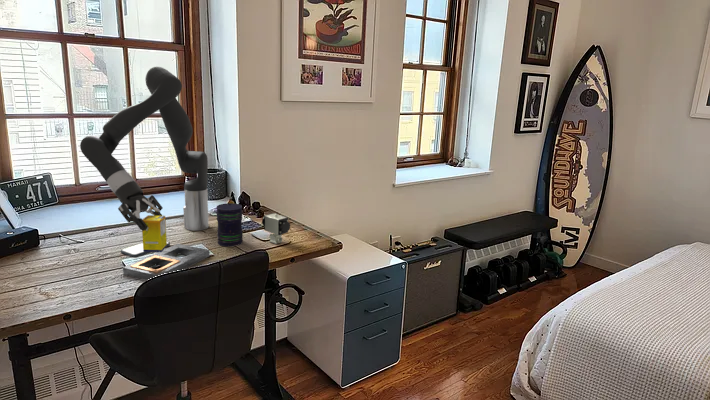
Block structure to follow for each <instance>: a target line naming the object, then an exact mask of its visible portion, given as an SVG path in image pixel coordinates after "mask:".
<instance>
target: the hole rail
mask: <svg viewBox="0 0 710 400" xmlns="http://www.w3.org/2000/svg"><path fill="white" fill-rule="evenodd" d="M182 254H183V255H185V256H184V257H182V258H181V257H176V256H178V255H182ZM183 255H182V256H183ZM209 257H210V249H205V248H202V247H196V246H192V245H187V244H186V245H185V244H181V243H176V244H173V245H170V246H169V247H166V248H165V249H164V250H163V251H162V252H154V253H153V254H150V255H148V256H146V257H144V258H142V259H140V260H136V261H135V262H132V263H130V264H128V265H126V266H123V267H122V273H123V275H124V276H127V277H132V278H135V279H140V280H145V281H148V279H150V278H153V277H155V276H158V275H161V274H164V273H169V272H173V271H177V270H182V269H184V270H186V269H188V268H190V267H192V266H193V265H196V264H198V263H199V262H201V261H203V260H205V259H208V258H209ZM154 266H159V267H160V268H157V269H155V268H152V267H154ZM182 271H183V270H182Z"/></svg>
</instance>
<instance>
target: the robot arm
mask: <svg viewBox="0 0 710 400" xmlns="http://www.w3.org/2000/svg"><path fill="white" fill-rule="evenodd" d="M145 85H146V87H147V90H148V91H149V93H150V95H149V96H148V97H147V98H146V99H144V100H142V101H141V102H139V103H136V104H134V105H133V104H132V105H130V106H127V107H125V108H124V109H123V108H122V109H121V110H119V111H118V112H116V114H114V115H113V116H112V117H111V118H109V120H108V121H107V122H105V124H104V125H103V127H102V131H103V132H102V134H101V135H100V136H99V137H97V136H94V135H89V136H88V135H87V136H85V137H83V138H82V140H81V141H80V144H79V147H80V151H81V153H82V154H83V155H84V157H85V159H87V160H88V161H89V162H90V163H91V164H92V165H93V166H94V167H95V169H97V171H98V172H99V174H100V175H101V177H102V178H103V179H104V181H105V182H106V184H107V185H108V187H109V188H110V190H111V192H113V194H114V195H115V196H116V197H117V198H118V201H120V203H121V204H120V206H118V208H117V209H118V212H119V213H120V214H121V215H122V216H123V218H124V219H125V220H126V222H127V223H131V222H133V223H135V224H136V226H137V227H138V228H139V229H140V230H141V231H144V230H146V229H147V225H146V224H145V222H144V221H143V220H142V219H143V218H141V215H140V214H141V213H146V214H151V215H154V216H163V214H162V213H161V211H162V210H163V206H162V205H161V204H160V202H159V201H158V199H157V197H155V196H154V195H150V196H149V197H146V196H145V195H144V191H143V189H142V188H141V187H140V186H139V184H138V183H137V181H136V180H135V179H134V178H133V176H132V175H131V174H130V173H129V172H128V171H127V170H126V168H125V166H123V165H122V163H121V162H120V161H119V160H118V159H117V158H115V156H113V153H114V151H115V150H116V148H118V145H119V144H120V142H121V141H122V140H123V139H124V138H125V137H126V136H127V135H129V134H130V133H131V132H132V131H133V130H134V129H135V128H136V127H137V126H138V125H140V124H141V123H142V122H143V121H144V120H146V119H147V118H149V117H150V116H152V115H153V114H155V113H156V112H158V111H159V114H160V117H161V119H162V121H163V124H164V127H165V129H166V132H167V134H168V137H169V139H170V141H171V143H172V147H173V148H174V151H175V155H176V160H177V164H178V165H179V169H180V170H181V172H183V173H185V174H197V176H196V178H193V179H190V180H187V181H185V182H184V189H183V190H184V206H183V226H184V227H183V229H186V230H189V231H195V232H196V231H197V232H198V231H203V230H207V229H208V228H209V199H208V198H209V197H208V181H209V180H208V171H209V170H208V167H209V165H208V164H209V162H208V155H207V153H206V152H205V151H199V150H198V151H194V150H188V149H187V148H186V147H187V145H188V143H189V142H190V141H191V138H192V136H193V132H194V131H193V126H192V123H191V120H190V118H189V116H188V114H187V111H185V109H184V107H183V106H182V105H181V103H180V102H179V101H178V99H177V97H178V96H179V95H180V93H181V91H182V88H183V84H182V81H181V80H180V78H179V77H177V76H176V75H174V74H173V73H172V72H171V71H169V70H168V69H166V68H164V67H162V66H153V67H151V68H149V70H147V72H146V74H145Z"/></svg>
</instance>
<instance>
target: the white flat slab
mask: <svg viewBox="0 0 710 400" xmlns="http://www.w3.org/2000/svg"><path fill="white" fill-rule="evenodd" d="M169 247H171V243H170V242H169V241H167V247H166V248H169ZM120 253H121V254H122V255H124V256H128V257H131V258H138V257H140V256H144V255H148V254H150V253H151V252H144V251H143V242H141V243H138V244H135V245H132V246H129V247H124V248H123V249H121V250H120Z"/></svg>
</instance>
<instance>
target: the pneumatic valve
mask: <svg viewBox="0 0 710 400" xmlns="http://www.w3.org/2000/svg"><path fill="white" fill-rule="evenodd" d="M261 224H262V226H263V231H265V232H270V234H269V243H272V244H275V245H277V244H279V243H280V244H281V243H283V236H282V235H284V234H287V233H289V231H290V229H291V224H290V222H289V217H286V216H284V215H281V214H280V215H279V214H278V213H273V212H272V213H268V214H265V215H263V218H262V220H261Z"/></svg>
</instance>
